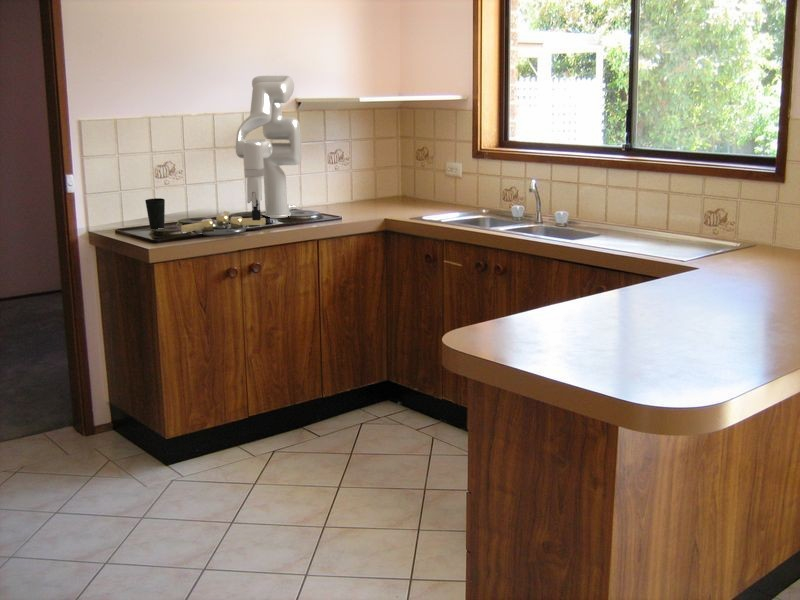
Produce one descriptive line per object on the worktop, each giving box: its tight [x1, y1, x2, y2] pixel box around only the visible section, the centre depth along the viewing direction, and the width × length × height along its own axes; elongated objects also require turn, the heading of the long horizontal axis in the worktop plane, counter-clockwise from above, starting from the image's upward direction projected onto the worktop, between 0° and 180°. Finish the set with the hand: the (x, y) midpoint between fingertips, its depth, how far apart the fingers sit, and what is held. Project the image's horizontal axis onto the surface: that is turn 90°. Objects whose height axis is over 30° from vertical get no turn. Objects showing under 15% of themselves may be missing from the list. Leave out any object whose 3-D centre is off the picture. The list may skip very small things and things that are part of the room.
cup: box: [144, 197, 166, 230], centre depth 368 cm, size 8×8×12 cm
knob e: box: [180, 218, 214, 233], centre depth 355 cm, size 14×5×4 cm, turn 138°
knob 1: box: [216, 210, 230, 225], centre depth 373 cm, size 14×5×4 cm, turn 3°
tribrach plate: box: [195, 222, 247, 237], centre depth 363 cm, size 20×20×3 cm
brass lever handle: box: [229, 216, 267, 228], centre depth 363 cm, size 14×5×4 cm, turn 93°
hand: (256, 219), depth 356 cm, fingers closed
